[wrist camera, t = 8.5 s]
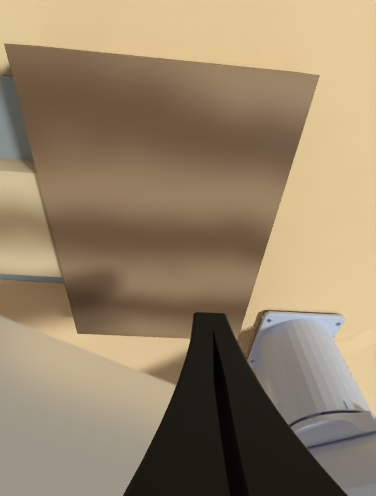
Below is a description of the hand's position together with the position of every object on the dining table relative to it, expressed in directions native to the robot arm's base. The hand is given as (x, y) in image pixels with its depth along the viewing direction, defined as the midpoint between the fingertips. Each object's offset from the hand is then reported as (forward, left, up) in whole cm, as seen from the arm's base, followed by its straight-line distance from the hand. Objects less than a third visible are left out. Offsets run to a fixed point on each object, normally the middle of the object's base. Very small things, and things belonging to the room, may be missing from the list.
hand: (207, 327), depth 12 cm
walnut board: (0, +3, -10) cm, 10 cm away
